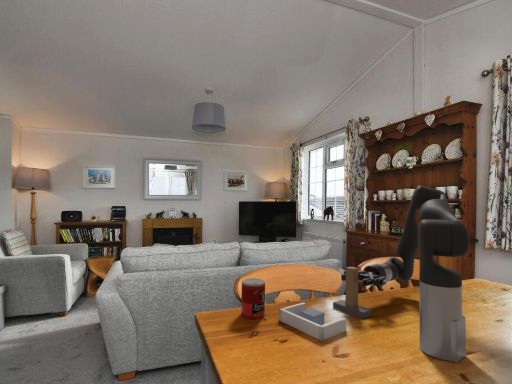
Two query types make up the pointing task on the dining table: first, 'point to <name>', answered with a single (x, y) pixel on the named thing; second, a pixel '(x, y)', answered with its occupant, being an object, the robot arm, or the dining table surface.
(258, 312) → the canned food
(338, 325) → the box
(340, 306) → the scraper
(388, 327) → the dining table surface
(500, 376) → the dining table surface
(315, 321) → the ceramic block
